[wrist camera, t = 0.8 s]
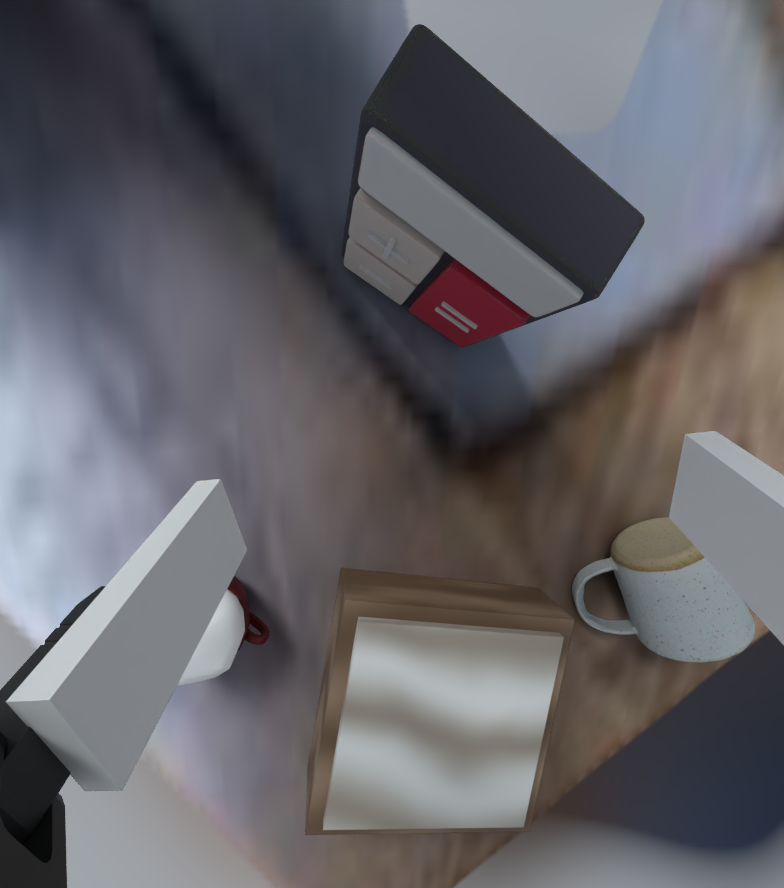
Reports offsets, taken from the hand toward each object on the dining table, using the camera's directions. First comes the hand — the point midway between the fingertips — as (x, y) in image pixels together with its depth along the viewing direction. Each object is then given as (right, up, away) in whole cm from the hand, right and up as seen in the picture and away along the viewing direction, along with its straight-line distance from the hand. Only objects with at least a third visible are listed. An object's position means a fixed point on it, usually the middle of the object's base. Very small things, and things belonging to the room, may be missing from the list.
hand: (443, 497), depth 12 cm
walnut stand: (+1, -17, +21) cm, 27 cm away
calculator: (0, +13, +18) cm, 22 cm away
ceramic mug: (+18, -9, +23) cm, 31 cm away
